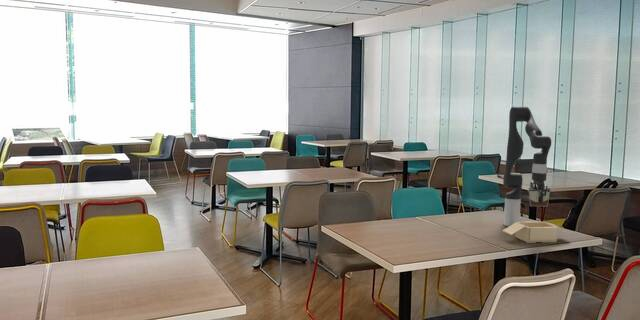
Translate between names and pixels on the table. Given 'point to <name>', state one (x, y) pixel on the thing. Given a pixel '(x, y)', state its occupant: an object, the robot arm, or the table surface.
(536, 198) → the food container
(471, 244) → the table surface
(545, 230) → the carton
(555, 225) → the flap back
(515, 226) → the flap front
